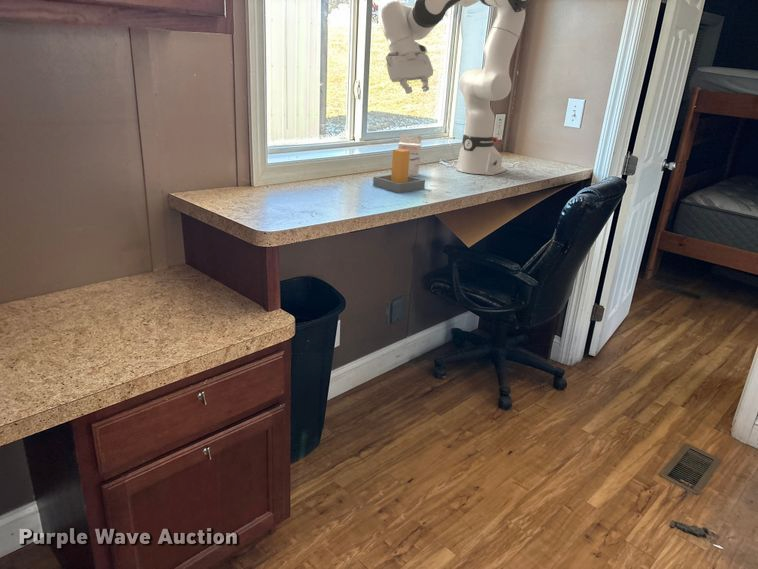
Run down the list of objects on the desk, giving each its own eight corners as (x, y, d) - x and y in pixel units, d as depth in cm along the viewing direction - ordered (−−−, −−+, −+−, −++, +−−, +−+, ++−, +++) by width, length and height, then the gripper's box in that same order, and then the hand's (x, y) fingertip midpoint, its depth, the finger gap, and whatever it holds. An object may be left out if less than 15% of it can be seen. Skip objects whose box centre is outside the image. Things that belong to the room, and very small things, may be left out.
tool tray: (398, 181, 202) (399, 173, 201) (424, 188, 194) (425, 180, 192) (372, 185, 194) (373, 176, 192) (398, 193, 185) (399, 184, 184)
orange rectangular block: (398, 183, 196) (401, 148, 191) (407, 185, 193) (409, 150, 189) (390, 184, 193) (393, 149, 189) (399, 187, 191) (401, 151, 186)
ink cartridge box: (395, 174, 213) (398, 135, 207) (396, 172, 218) (399, 133, 212) (418, 176, 212) (421, 136, 207) (418, 173, 217) (422, 135, 211)
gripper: (391, 48, 179) (405, 90, 180) (428, 46, 193) (442, 85, 194) (377, 57, 183) (392, 98, 185) (415, 55, 197) (428, 93, 199)
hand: (418, 91), depth 190 cm, fingers open, 8 cm apart
